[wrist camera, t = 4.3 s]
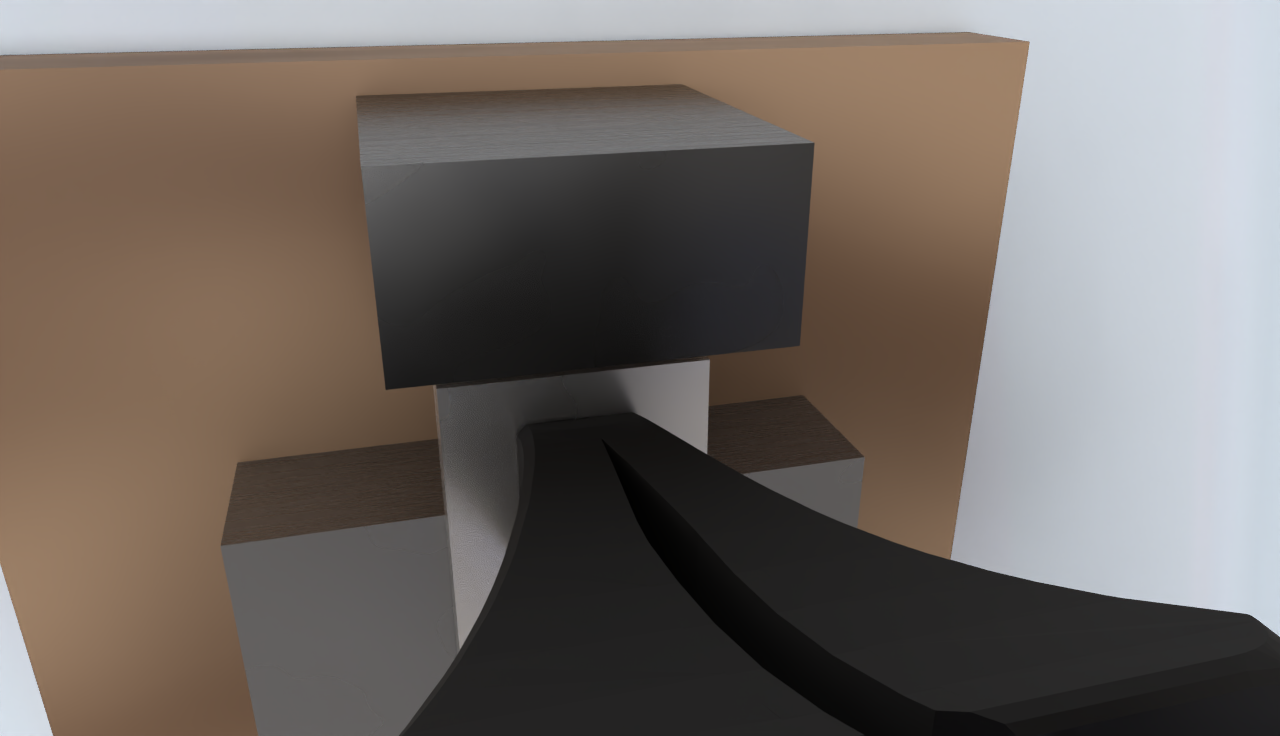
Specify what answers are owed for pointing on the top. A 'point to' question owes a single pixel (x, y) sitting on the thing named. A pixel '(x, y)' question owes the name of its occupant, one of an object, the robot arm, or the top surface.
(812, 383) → the board
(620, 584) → the robot arm
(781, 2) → the top surface
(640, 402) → the grey flat bar
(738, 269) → the clamp block
